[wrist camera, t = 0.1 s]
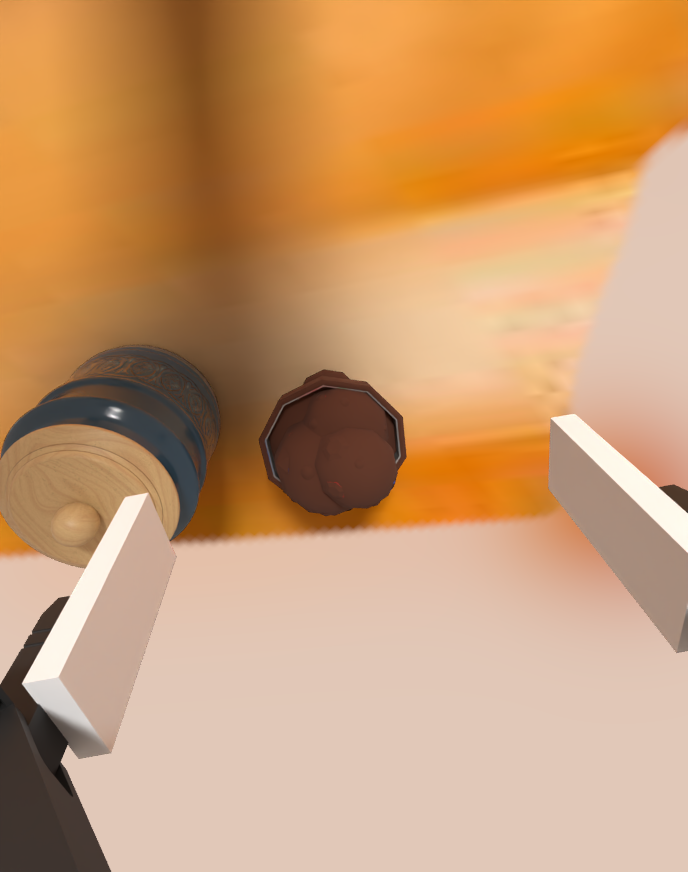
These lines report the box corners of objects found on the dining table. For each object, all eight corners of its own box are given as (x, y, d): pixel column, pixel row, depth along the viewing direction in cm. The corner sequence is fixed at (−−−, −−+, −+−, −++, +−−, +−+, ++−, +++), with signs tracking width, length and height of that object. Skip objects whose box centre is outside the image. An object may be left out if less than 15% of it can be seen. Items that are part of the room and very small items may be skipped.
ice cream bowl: (326, 313, 41) (337, 379, 28) (411, 399, 46) (455, 490, 32) (242, 397, 44) (217, 491, 31) (330, 470, 49) (340, 580, 35)
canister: (48, 353, 41) (-106, 460, 26) (201, 329, 41) (139, 423, 26) (104, 481, 47) (7, 631, 32) (237, 461, 47) (205, 601, 32)
